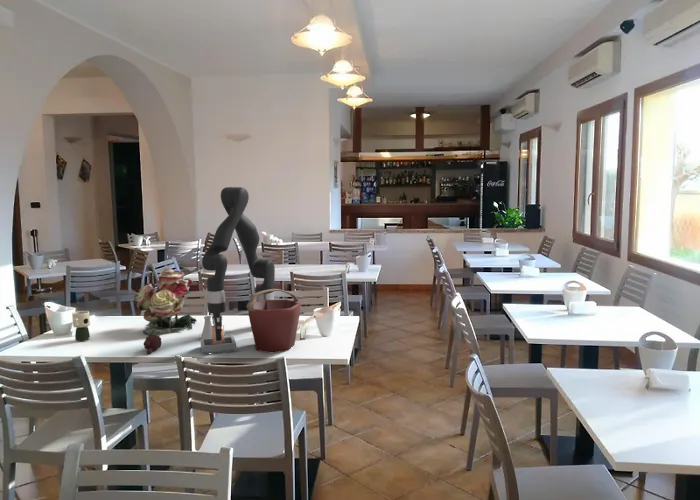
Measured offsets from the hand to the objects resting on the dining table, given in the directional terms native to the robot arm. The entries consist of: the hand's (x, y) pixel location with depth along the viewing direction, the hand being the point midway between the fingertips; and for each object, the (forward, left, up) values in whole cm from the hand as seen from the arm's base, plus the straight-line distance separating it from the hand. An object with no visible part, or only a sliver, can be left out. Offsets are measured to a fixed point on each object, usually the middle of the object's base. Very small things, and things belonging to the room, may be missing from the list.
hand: (217, 338), depth 244 cm
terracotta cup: (0, 0, -4) cm, 4 cm away
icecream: (+27, -8, -5) cm, 29 cm away
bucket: (-23, +4, -5) cm, 24 cm away
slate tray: (0, 0, -5) cm, 5 cm away
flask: (+3, -20, -5) cm, 21 cm away
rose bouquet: (+21, -44, -5) cm, 49 cm away
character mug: (+58, -36, -5) cm, 68 cm away
